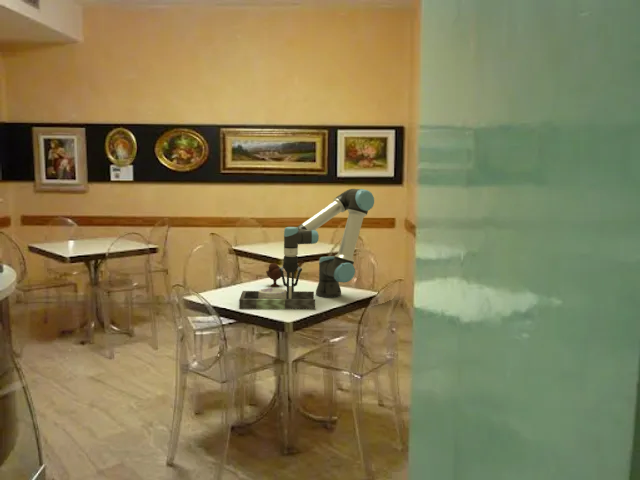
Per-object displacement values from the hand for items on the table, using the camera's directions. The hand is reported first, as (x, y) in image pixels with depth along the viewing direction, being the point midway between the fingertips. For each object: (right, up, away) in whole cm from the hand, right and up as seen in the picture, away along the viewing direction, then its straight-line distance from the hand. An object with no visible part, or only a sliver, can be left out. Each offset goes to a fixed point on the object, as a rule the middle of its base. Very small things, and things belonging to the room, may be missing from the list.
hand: (290, 298), depth 314 cm
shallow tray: (-7, -3, 0) cm, 8 cm away
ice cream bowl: (-12, +2, +50) cm, 51 cm away
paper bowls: (-10, -4, 0) cm, 10 cm away
